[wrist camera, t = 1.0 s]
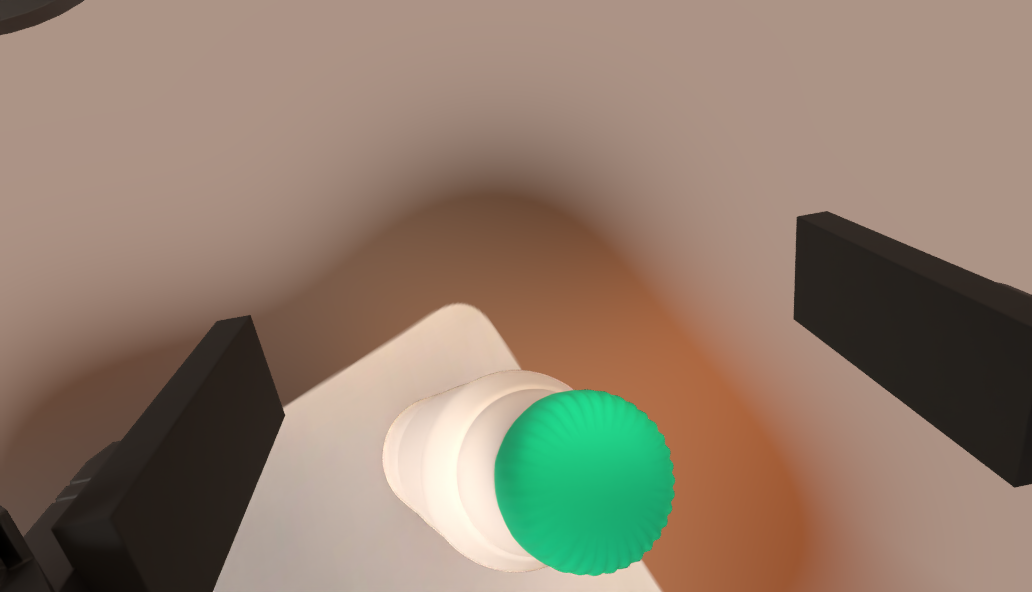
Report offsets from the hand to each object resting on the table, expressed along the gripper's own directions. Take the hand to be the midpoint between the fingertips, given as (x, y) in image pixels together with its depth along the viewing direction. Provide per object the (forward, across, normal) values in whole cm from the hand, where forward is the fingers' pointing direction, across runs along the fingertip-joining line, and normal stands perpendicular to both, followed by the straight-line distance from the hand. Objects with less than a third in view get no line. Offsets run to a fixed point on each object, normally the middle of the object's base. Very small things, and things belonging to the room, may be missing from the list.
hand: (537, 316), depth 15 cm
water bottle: (+19, -6, -17) cm, 27 cm away
